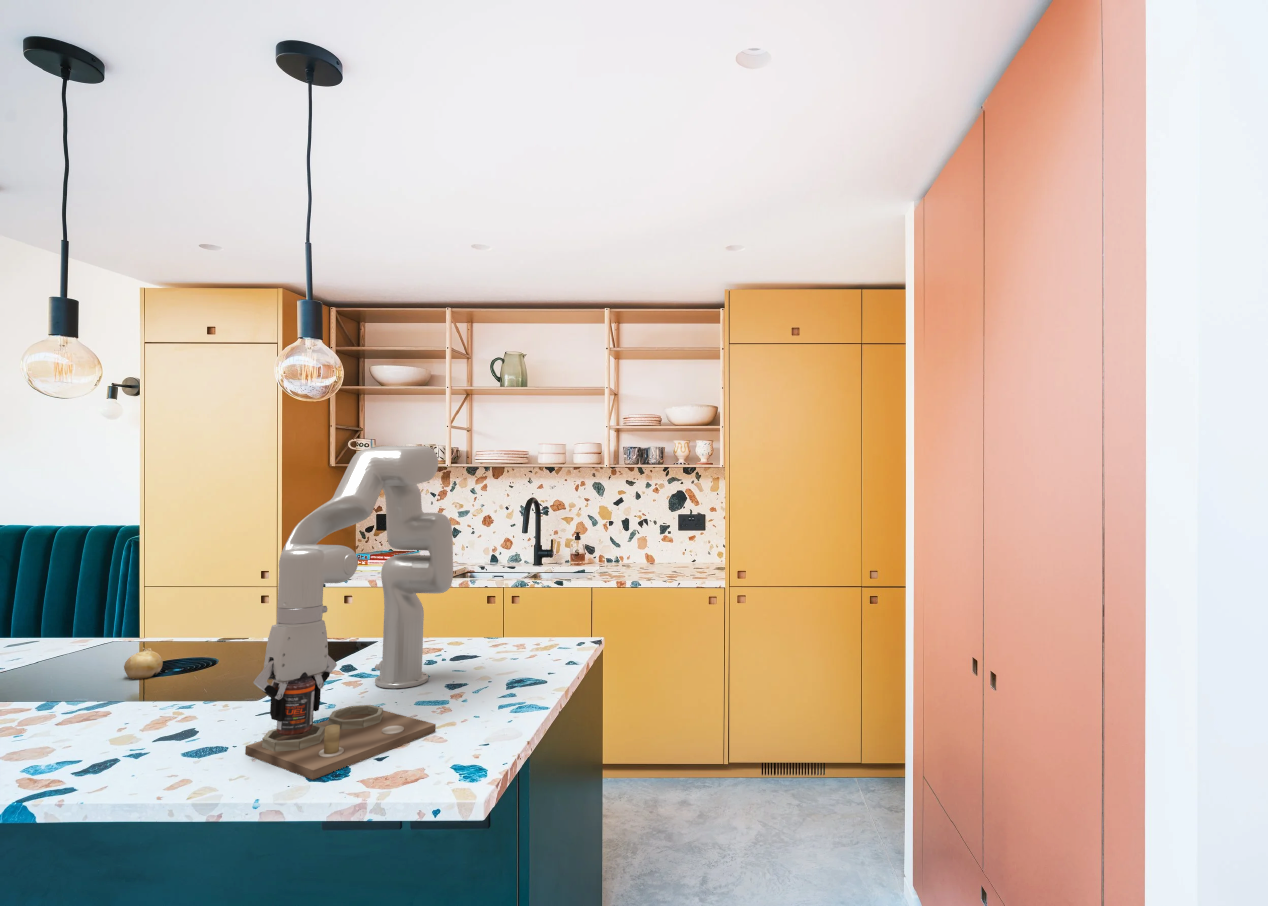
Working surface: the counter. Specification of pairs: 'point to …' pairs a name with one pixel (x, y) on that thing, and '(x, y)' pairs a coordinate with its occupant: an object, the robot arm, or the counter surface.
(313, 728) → the board
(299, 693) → the supplement bottle
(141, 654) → the onion
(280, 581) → the robot arm
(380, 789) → the counter surface
